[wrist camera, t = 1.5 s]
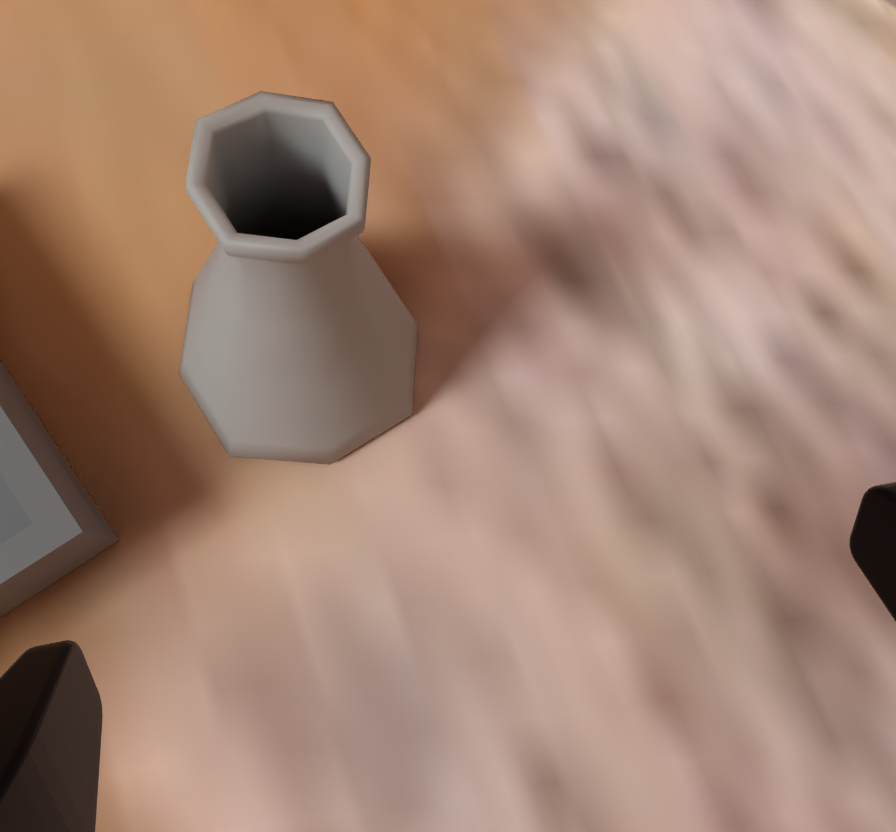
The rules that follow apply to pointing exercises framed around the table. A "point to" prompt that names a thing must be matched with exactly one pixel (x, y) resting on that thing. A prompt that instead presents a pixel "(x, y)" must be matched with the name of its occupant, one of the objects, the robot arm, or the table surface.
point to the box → (39, 505)
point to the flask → (291, 287)
